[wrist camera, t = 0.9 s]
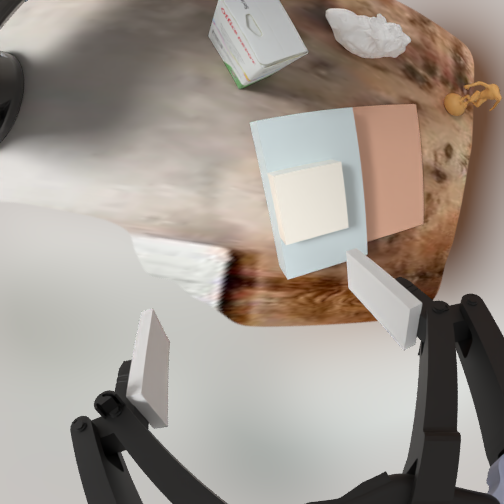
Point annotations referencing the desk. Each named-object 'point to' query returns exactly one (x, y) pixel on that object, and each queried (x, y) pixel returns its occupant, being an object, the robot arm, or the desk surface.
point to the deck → (305, 152)
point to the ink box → (254, 38)
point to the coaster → (309, 200)
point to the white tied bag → (367, 34)
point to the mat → (390, 167)
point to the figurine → (457, 104)
